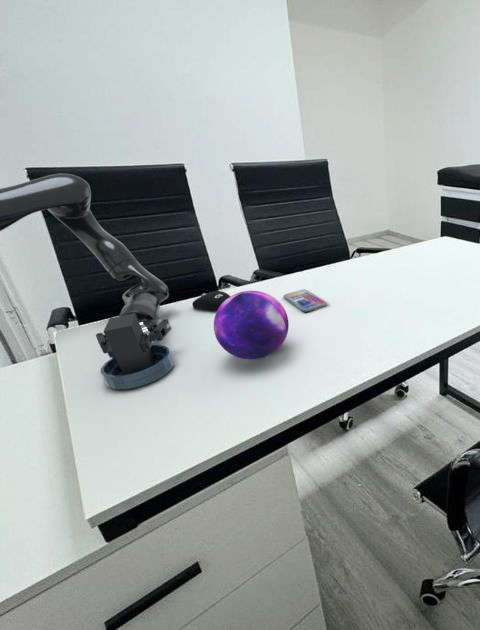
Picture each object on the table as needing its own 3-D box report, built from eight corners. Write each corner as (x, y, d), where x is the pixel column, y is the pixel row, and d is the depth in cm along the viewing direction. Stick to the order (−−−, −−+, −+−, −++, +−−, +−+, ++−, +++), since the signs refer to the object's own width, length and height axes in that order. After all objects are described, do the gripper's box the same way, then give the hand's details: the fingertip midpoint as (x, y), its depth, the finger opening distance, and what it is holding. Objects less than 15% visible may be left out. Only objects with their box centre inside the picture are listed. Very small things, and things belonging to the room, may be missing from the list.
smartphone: (304, 288, 120) (328, 302, 109) (305, 291, 120) (328, 305, 110) (281, 294, 115) (303, 310, 105) (282, 297, 116) (304, 313, 105)
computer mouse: (221, 314, 107) (217, 301, 106) (190, 309, 111) (185, 296, 110) (241, 303, 114) (238, 291, 112) (210, 299, 118) (206, 287, 116)
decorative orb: (242, 338, 95) (225, 281, 88) (302, 336, 94) (290, 279, 87) (211, 374, 81) (189, 310, 75) (281, 372, 81) (265, 307, 74)
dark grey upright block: (127, 382, 79) (103, 331, 74) (131, 367, 84) (109, 318, 79) (152, 375, 81) (131, 325, 75) (155, 361, 86) (135, 312, 81)
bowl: (97, 397, 76) (89, 382, 74) (120, 364, 86) (114, 351, 85) (166, 383, 79) (160, 369, 77) (180, 353, 89) (175, 340, 88)
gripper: (95, 311, 87) (76, 345, 73) (168, 297, 92) (163, 326, 78) (109, 340, 90) (93, 377, 76) (178, 324, 96) (175, 357, 82)
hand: (128, 351), depth 77 cm, fingers closed on dark grey upright block, 4 cm apart
